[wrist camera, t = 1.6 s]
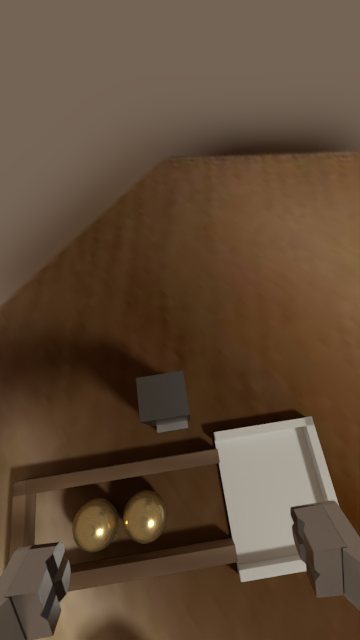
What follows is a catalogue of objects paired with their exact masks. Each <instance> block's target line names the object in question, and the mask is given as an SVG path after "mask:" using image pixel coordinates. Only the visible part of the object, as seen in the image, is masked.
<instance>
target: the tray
mask: <svg viewBox="0 0 360 640" xmlns="http://www.w3.org/2000/svg"><path fill="white" fill-rule="evenodd" d="M213 435H214V441H215V446H216V449H218V454H219V460H220V463H219V468H220V474H221V479H222V485H223V490H224V496H225V502H226V507H227V513H228V518H229V524H230V529H231V535H232V539H233V541H234V544H235V548H236V553H237V559H238V562H236V563H237V568H238V574H239V577H240V580H241V582H245V581H251V580H257V579H262V578H268V577H274V576H280V575H285V574H291V573H297V572H303V571H307V570H306V564H305V563H304V562H303V561H302V560H301V559H300V556H299V554H298V551H297V548H296V546H295V542H294V538H293V533H292V525H293V524H294V522H293V520H292V518H291V513H290V509H291V507H293V506H300V505H306V504H312V503H319V502H325V501H332V500H334V501H335V502H336V503H337V504H338V501H337V498H336V495H335V491H334V488H333V485H332V482H331V478H330V475H329V472H328V468H327V465H326V462H325V459H324V455H323V452H322V449H321V446H320V442H319V439H318V436H317V433H316V429H315V426H314V423H313V419H312V416H311V417H305V418H299V419H293V420H286V421H280V422H274V423H268V424H262V425H256V426H249V427H243V428H237V429H231V430H225V431H219V432H213ZM338 506H339V504H338Z"/></svg>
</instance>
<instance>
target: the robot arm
mask: <svg viewBox="0 0 360 640" xmlns="http://www.w3.org/2000/svg"><path fill="white" fill-rule="evenodd" d="M290 513H291V518H292V520H293V522H294V524H293V525H292V533H293V538H294V542H295V546H296V548H297V551H298V554H299V556H300V559H301V560H302V561H303V562H304V563H305V564H306V570H307V576H308V578H309V581H310V583H311V585H312V588H313V590H314V592H315V595H316V597H317V598H319V597H328V596H337V595H345V597H346V598H347V599H348V600H349V601H350V602H351V603H352V604H353V605H354V606H355V607H356V608H357V609H358V610H359V611H360V537H359V536H358V534H357V533H356V531H355V530H354V528H353V527H352V525H351V524H350V522H349V521H348V519H347V518H346V516H345V515H344V513H343V512H342V510H341V509H340V507H339V506H338V504H337V503H336V502H335V501H334V500H332V501H325V502H319V503H312V504H306V505H300V506H293V507H291V509H290ZM64 552H65V548H64V545H63V542H57V543H48V544H40V545H33V546H25V547H19V548H18V549H17V550H16V551H15V552H14V553H13V555H12V557H11V559H10V561H9V563H8V565H7V566H6V568H5V570H4V572H3V574H2V576H1V577H0V640H33V639H39V638H44V637H50V636H53V634H54V631H55V628H56V625H57V622H58V619H59V616H60V612H61V608H60V604H59V602H60V601H61V600H62V599H63V598H64V596H65V595H66V594H67V590H68V587H69V583H70V575H71V571H70V563H69V560H68V559H67V558H66V557H64V556H63V555H64Z"/></svg>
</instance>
